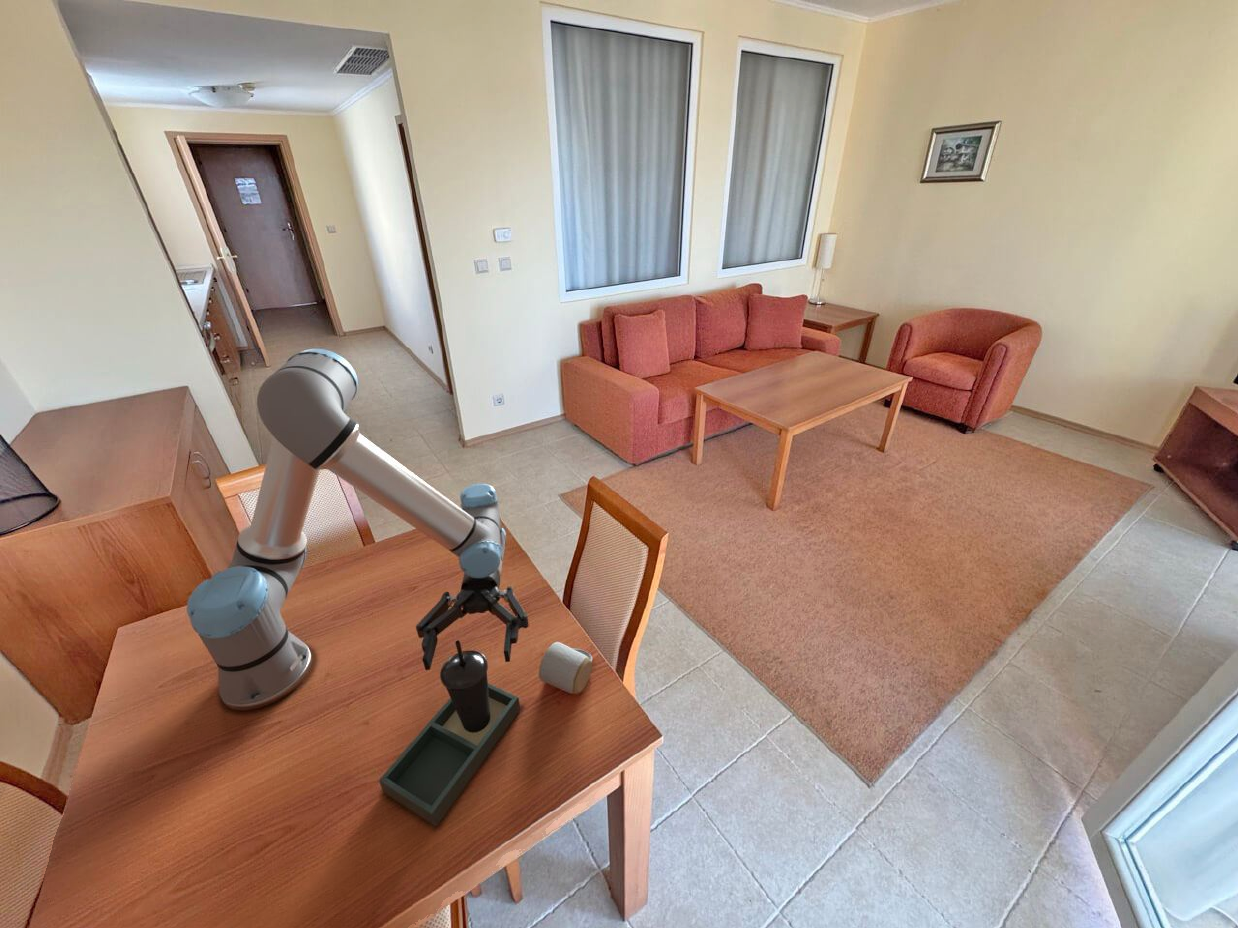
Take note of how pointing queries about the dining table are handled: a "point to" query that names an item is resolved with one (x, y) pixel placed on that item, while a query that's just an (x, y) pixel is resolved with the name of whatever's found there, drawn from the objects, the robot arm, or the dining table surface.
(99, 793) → the dining table surface
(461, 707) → the drinking cup
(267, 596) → the robot arm
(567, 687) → the ceramic mug
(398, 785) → the divided tray
